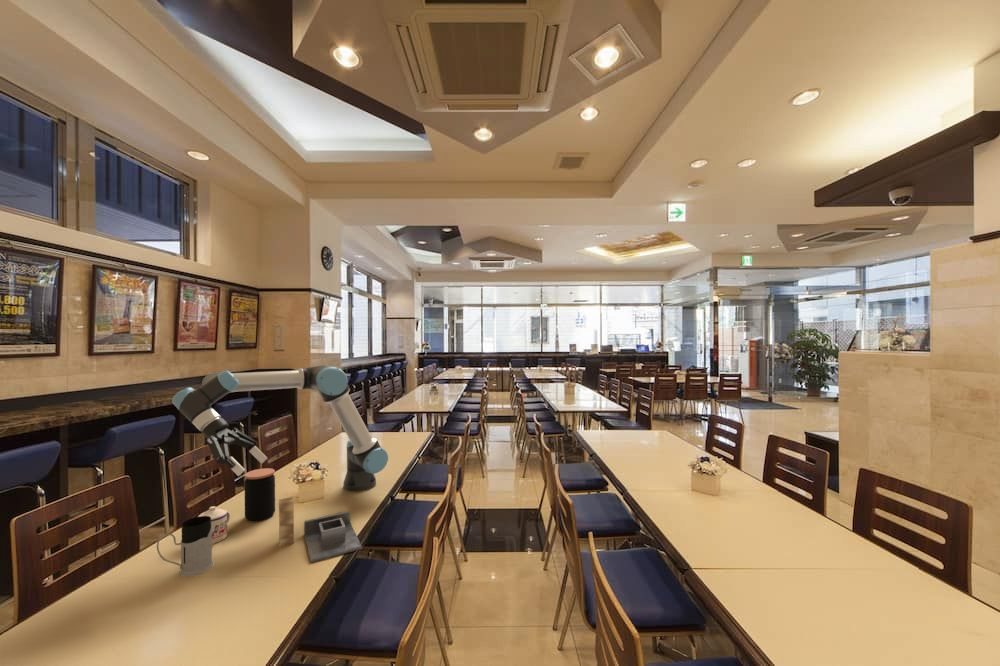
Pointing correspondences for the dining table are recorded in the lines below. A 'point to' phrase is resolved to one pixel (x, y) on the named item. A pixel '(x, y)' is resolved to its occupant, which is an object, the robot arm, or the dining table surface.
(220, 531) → the teacup with lid
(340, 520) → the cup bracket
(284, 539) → the wooden block
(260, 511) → the coffee jar
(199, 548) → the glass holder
